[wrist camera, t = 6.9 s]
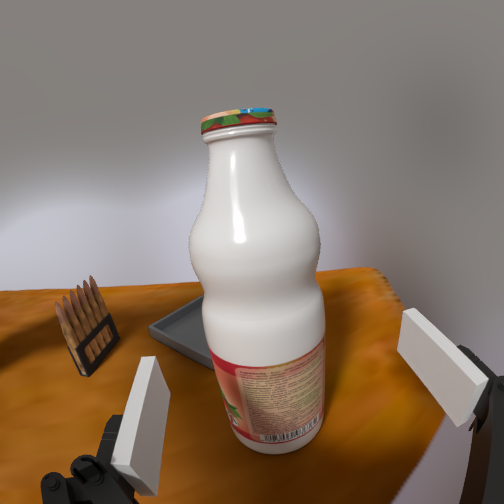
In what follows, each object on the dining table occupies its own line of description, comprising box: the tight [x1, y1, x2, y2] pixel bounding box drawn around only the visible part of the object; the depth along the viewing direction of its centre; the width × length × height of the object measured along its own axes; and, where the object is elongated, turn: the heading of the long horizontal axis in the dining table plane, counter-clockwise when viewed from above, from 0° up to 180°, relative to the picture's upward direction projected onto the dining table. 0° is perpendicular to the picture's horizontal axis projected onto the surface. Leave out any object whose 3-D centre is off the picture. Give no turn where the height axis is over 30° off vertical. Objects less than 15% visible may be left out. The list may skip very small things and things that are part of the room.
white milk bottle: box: [189, 108, 326, 454], centre depth 23 cm, size 9×9×28 cm
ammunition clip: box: [55, 276, 120, 377], centre depth 39 cm, size 11×2×12 cm, turn 173°
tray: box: [148, 294, 215, 370], centre depth 46 cm, size 15×15×2 cm
